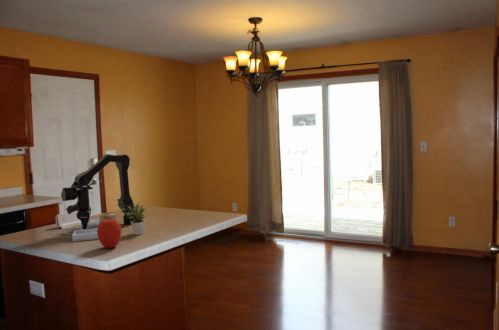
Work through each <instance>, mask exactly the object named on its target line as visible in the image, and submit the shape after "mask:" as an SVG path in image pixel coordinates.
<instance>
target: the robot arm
mask: <svg viewBox="0 0 499 330" xmlns="http://www.w3.org/2000/svg"><path fill="white" fill-rule="evenodd" d="M130 161H131V159H130V157H129V156H128V155H127V154H117V155H113V154H109V153H108V154H107V153H106V154H104V155H103V156H102V157H101V158H100V159H99V160H97V161H96V162H95V163H94V164H93V165H92V166H91V167H89V168H88V169H87V170H85V171H83V172H81V173H79V174H77V175H76V176H75V177H74V181H73V182H72V185H71V186H70V187H69V186H68V187H62V190H61V194H60V198H61V200H62V201H63V202H67V201H73V200H74V201H75V200H76V199H77V201H76V203H75V204H70V205H68V206H67V207H65V211H67V212H68V214H71V213H72V212H74V211H78V212H77V218H78V219H79V220H81V223H82V226H83V229H84V230H85V229H86V227H87V224H88V221H89V220H90V217H91V214H92V207H91V205H90V202H91V201H90V191H89V190H93V187H92V186H91V185H90V183H91V182H92V180H93V179H94V176H96V175H97V174H98V173H99V172H100V171H101V170H102V169H103V168H105V167H106V166H107V165H109V163H114V164H115V166H116V168H117V171H118V175H119V176H118V177H119V187H120V196H119V198H117V206H118V208H119V209H120V210H121V212H122V213H123V214H124V215H123V216H122V219H123V223H124V225H125V226H126V225H131V221H134V219H132V218H131V217H132V216H133V214H129V215H132V216H131V217H130V216H129V215H128V214H126V213H131V212H132V211H131V209H132V210H133V208H134V206H133V205H135V204H134V201H133V197H132V196H131V192H130V183H129V173H128V172H129V171H128V170H129V167H130V164H131V163H130ZM126 205H127V206H126ZM128 206H129V207H130V208H131V209H130V208H129V207H128ZM127 208H128V210H127ZM129 209H130V211H131V212H130V211H129ZM133 212H134V210H133ZM133 212H132V213H133ZM134 213H135V212H134ZM127 215H128V216H127ZM134 216H135V215H134ZM134 216H133V217H134ZM128 217H130V218H131V219H130V218H128ZM134 218H135V217H134Z"/></svg>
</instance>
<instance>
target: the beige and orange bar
mask: <svg viewBox="0 0 499 330" xmlns="http://www.w3.org/2000/svg"><path fill="white" fill-rule="evenodd" d="M80 223H81V222H80ZM99 224H100V219H99V218H98V219H89V221H88V224H87V227H86V229H91V228H98V226H99ZM80 228H81V229H83V226H82V223H81V225H80Z"/></svg>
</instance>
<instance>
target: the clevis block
mask: <svg viewBox="0 0 499 330" xmlns="http://www.w3.org/2000/svg"><path fill="white" fill-rule="evenodd" d="M98 219H100V223H101V222H102V221H103V220H106V219H113V220H116V221H117V219H116V212H105V213H104V212H103V213H99V217H98ZM91 229H95V228H91ZM75 230H84V229H81V227H76V228H65V231H64V234H65V236H72V235H73V232H74V231H75Z"/></svg>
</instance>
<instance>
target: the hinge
mask: <svg viewBox="0 0 499 330" xmlns="http://www.w3.org/2000/svg"><path fill="white" fill-rule="evenodd" d="M77 212H78V211H74V212H72V213H71V214H68V212H67V210H65V211H62V212H61V213H58V214H57V215H56V216H55V225H56V229H60V228H61V230H66V229H70V228H73V227H78V226H81V223H80V222H81V220H79V219H78V218H77Z"/></svg>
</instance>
